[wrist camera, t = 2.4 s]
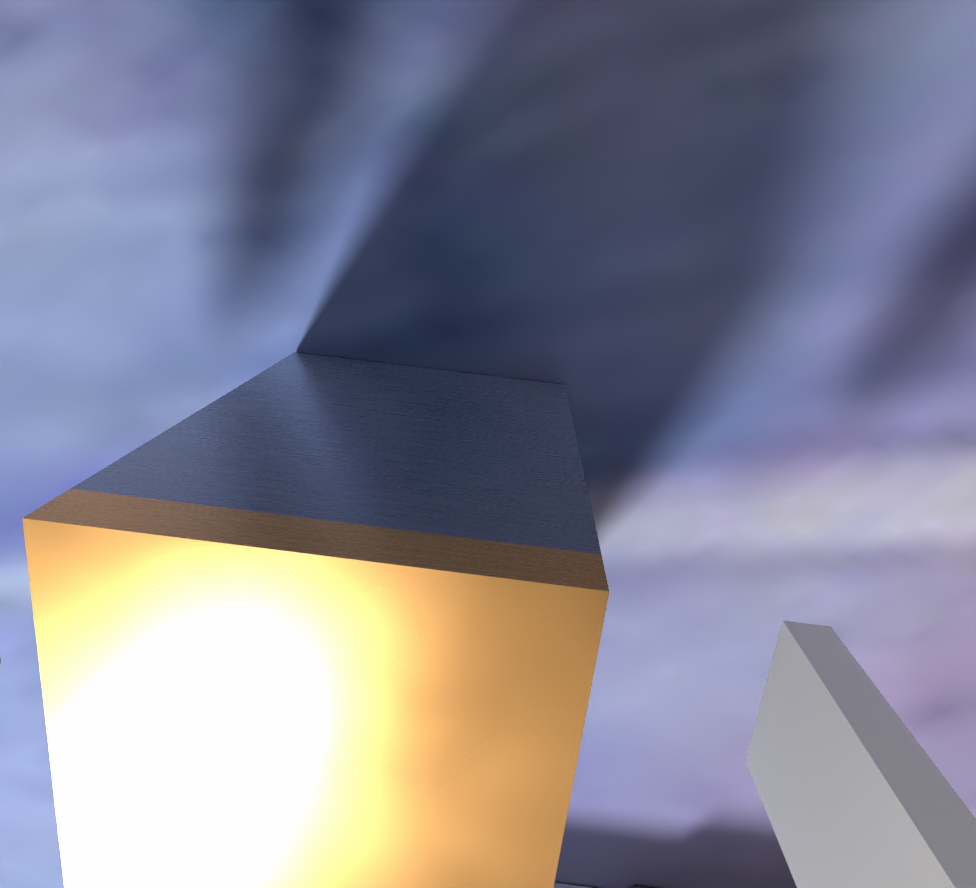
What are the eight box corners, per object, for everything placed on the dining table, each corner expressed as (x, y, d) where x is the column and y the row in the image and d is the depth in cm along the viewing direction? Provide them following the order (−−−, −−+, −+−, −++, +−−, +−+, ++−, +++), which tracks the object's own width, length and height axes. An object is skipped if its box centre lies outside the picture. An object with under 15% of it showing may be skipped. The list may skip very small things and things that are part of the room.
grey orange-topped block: (294, 351, 15) (22, 517, 7) (565, 385, 15) (609, 590, 7) (290, 589, 17) (70, 939, 9) (530, 620, 17) (531, 1001, 9)
